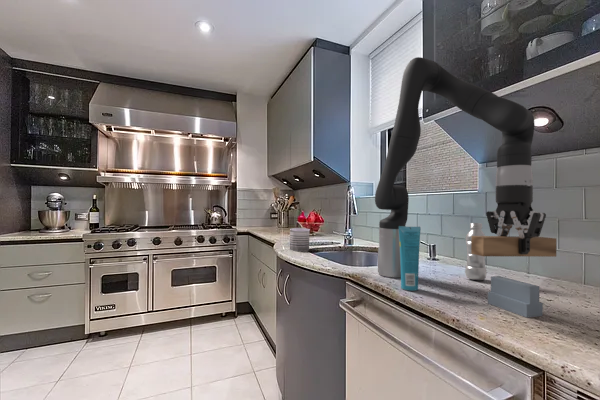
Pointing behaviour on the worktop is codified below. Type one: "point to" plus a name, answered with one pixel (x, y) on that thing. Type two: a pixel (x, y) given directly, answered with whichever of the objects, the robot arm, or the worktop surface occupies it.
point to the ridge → (515, 296)
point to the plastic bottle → (475, 262)
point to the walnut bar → (512, 246)
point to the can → (299, 239)
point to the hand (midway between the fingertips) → (513, 252)
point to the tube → (409, 256)
